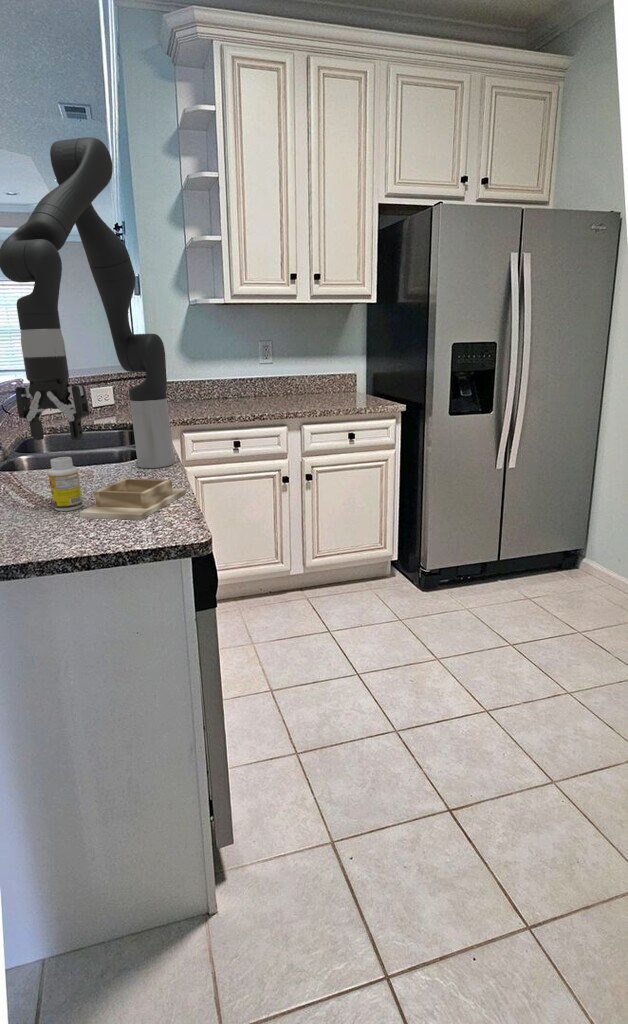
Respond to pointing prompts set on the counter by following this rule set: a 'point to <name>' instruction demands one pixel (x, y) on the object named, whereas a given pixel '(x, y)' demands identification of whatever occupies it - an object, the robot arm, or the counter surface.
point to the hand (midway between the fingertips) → (57, 439)
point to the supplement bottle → (65, 484)
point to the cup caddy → (132, 499)
